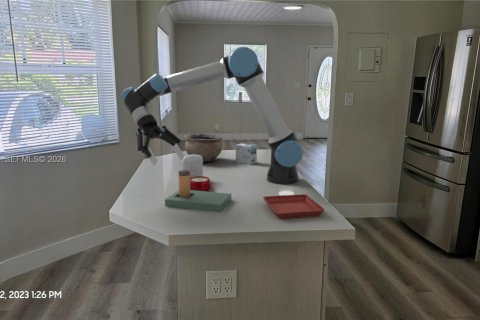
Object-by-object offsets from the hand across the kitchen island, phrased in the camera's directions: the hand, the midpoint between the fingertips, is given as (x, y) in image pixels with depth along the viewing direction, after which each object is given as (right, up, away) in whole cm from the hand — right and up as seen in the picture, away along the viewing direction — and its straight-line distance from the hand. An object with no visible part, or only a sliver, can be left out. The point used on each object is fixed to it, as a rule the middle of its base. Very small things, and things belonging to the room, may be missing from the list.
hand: (169, 160), depth 147 cm
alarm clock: (+10, -13, +16) cm, 23 cm away
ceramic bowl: (+7, -1, +71) cm, 72 cm away
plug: (+6, -16, -1) cm, 17 cm away
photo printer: (+5, -10, +29) cm, 31 cm away
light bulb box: (+31, -2, +67) cm, 74 cm away
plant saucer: (+47, -19, -10) cm, 52 cm away
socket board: (+12, -16, -3) cm, 21 cm away
